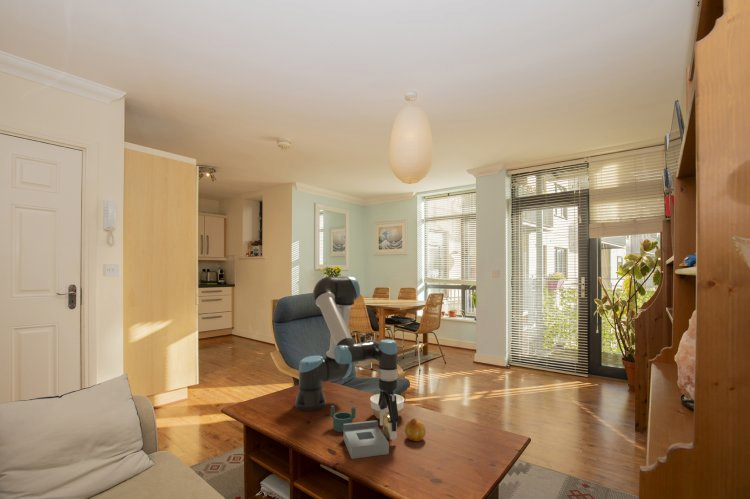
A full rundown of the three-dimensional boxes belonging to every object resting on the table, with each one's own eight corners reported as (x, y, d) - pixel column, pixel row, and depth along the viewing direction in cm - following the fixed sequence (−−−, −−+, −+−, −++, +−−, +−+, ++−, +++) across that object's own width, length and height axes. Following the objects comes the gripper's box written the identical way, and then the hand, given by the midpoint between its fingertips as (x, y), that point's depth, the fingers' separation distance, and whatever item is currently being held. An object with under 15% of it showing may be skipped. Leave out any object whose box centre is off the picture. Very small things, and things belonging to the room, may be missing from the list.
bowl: (399, 425, 164) (399, 406, 164) (365, 420, 169) (365, 402, 169) (408, 412, 179) (408, 395, 179) (376, 407, 184) (376, 391, 184)
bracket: (356, 429, 160) (357, 407, 160) (337, 433, 155) (337, 411, 156) (347, 421, 167) (347, 401, 168) (328, 426, 163) (328, 404, 163)
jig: (343, 439, 150) (343, 423, 150) (377, 435, 154) (377, 420, 154) (351, 458, 135) (351, 441, 135) (388, 453, 139) (388, 437, 139)
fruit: (398, 434, 149) (409, 418, 149) (404, 428, 157) (414, 412, 156) (415, 449, 146) (426, 432, 145) (421, 442, 154) (431, 426, 153)
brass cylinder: (381, 434, 154) (381, 414, 155) (390, 433, 156) (391, 413, 156) (384, 439, 151) (384, 418, 151) (393, 437, 152) (394, 417, 152)
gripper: (371, 371, 165) (371, 420, 164) (388, 388, 141) (388, 446, 140) (387, 370, 167) (387, 418, 166) (407, 387, 143) (407, 444, 142)
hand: (387, 431), depth 153 cm, fingers open, 13 cm apart
